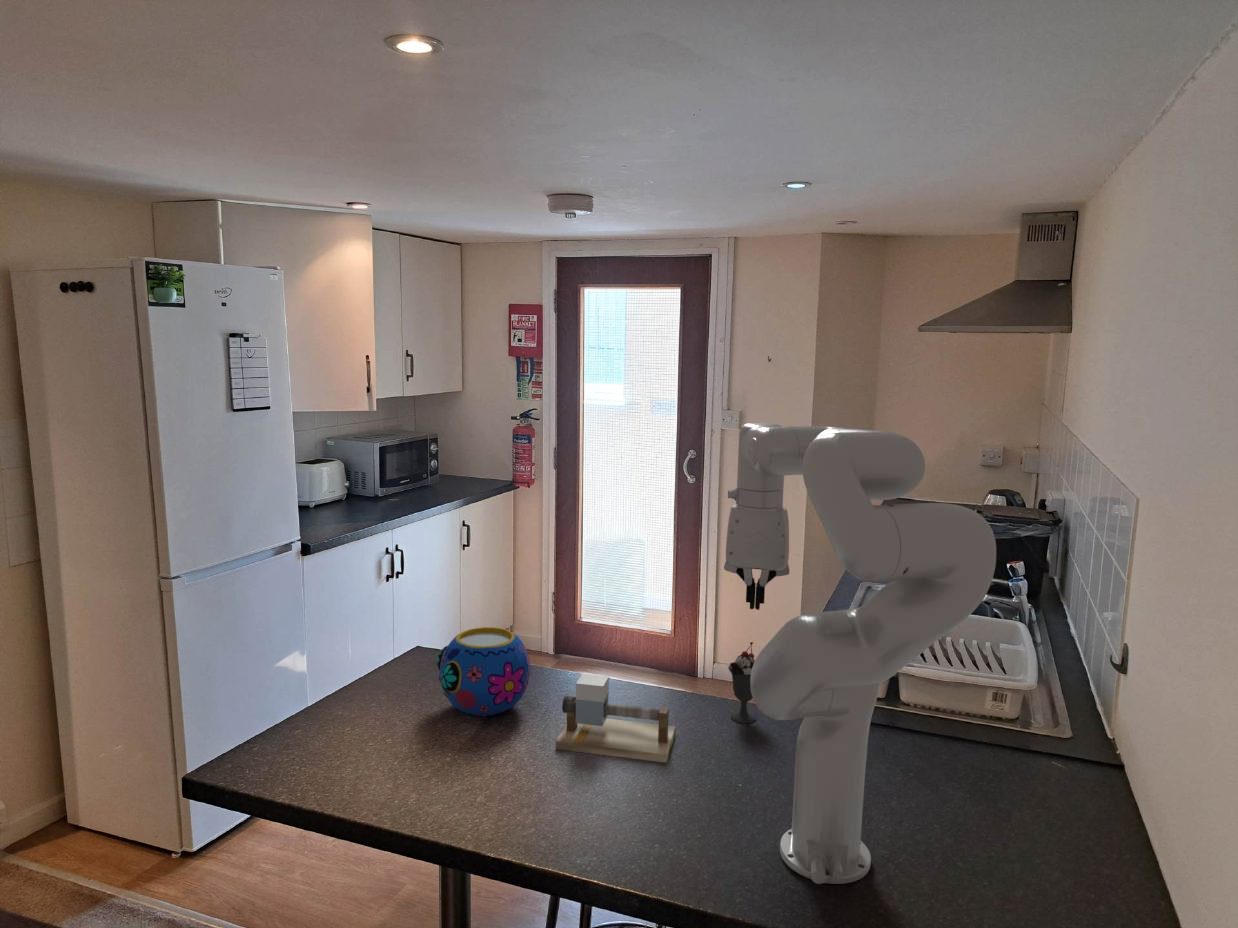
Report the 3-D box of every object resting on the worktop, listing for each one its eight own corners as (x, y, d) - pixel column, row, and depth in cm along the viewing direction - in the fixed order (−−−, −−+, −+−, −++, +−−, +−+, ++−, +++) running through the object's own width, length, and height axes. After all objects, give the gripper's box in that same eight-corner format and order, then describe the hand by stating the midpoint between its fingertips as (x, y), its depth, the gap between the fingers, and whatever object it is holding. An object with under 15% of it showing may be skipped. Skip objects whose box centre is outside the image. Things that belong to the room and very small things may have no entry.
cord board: (666, 762, 142) (667, 721, 141) (555, 748, 146) (556, 709, 145) (675, 733, 153) (676, 695, 152) (571, 721, 157) (572, 684, 156)
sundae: (759, 711, 163) (762, 639, 161) (761, 726, 157) (765, 651, 155) (725, 709, 164) (728, 637, 162) (726, 724, 157) (729, 649, 155)
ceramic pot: (435, 695, 167) (434, 625, 165) (521, 687, 173) (521, 618, 171) (443, 734, 151) (442, 656, 149) (538, 723, 156) (539, 648, 154)
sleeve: (602, 726, 147) (603, 686, 146) (575, 723, 148) (576, 683, 147) (608, 715, 152) (608, 676, 151) (581, 712, 153) (582, 673, 152)
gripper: (711, 500, 132) (707, 610, 134) (806, 505, 129) (801, 617, 131) (715, 492, 139) (712, 597, 142) (806, 497, 136) (800, 604, 139)
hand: (754, 606), depth 136 cm, fingers closed
